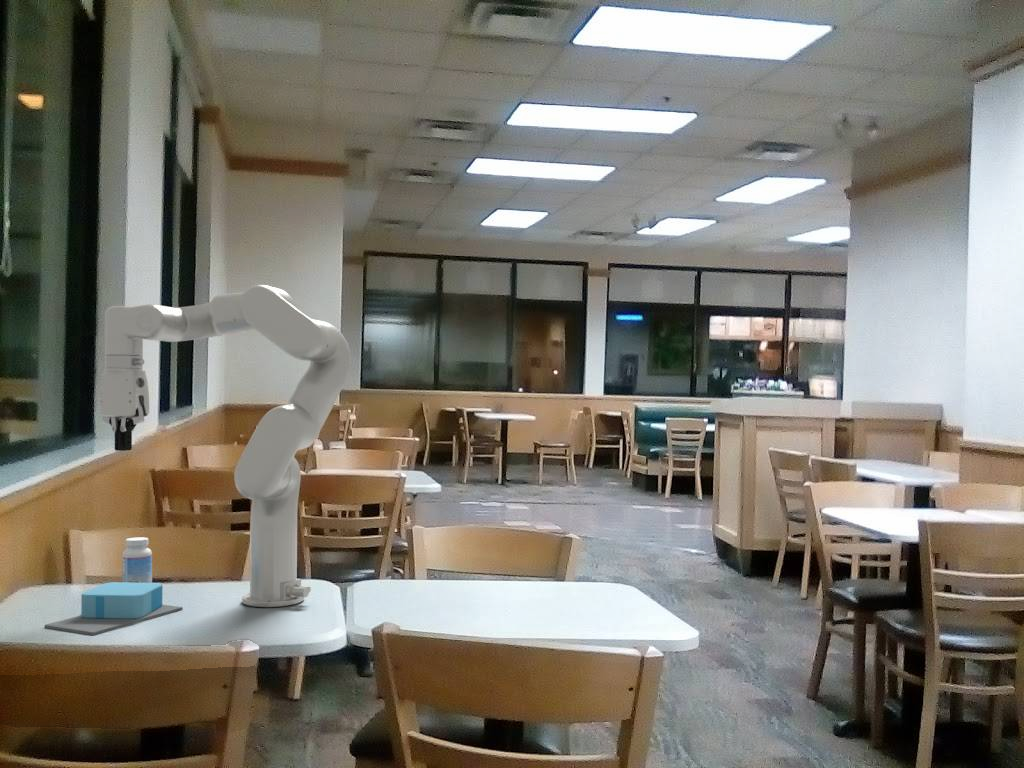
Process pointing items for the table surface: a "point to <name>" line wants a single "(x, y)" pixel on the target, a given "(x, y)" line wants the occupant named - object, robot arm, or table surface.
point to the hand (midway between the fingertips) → (123, 450)
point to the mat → (105, 622)
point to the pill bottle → (137, 561)
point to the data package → (121, 600)
